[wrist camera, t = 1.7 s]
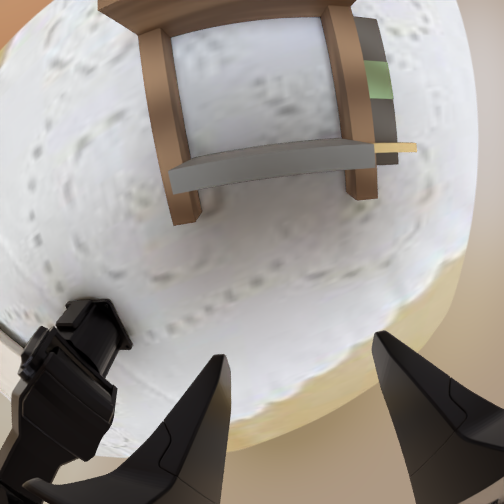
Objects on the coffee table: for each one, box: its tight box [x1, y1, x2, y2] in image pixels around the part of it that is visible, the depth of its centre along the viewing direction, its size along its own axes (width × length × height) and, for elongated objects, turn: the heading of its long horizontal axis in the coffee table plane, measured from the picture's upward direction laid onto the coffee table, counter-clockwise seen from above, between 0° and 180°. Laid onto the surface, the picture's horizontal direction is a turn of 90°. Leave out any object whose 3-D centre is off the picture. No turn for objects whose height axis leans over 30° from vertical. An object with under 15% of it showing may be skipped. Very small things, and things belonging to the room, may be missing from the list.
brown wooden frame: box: [98, 0, 398, 226], centre depth 13 cm, size 17×17×8 cm
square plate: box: [0, 329, 24, 398], centre depth 31 cm, size 27×27×4 cm
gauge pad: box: [168, 138, 417, 194], centre depth 15 cm, size 1×15×6 cm, turn 99°
